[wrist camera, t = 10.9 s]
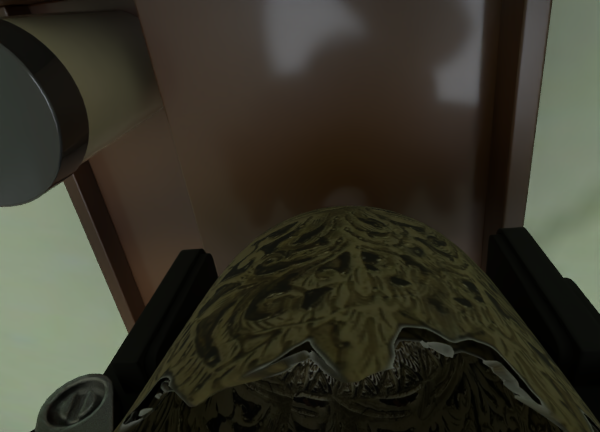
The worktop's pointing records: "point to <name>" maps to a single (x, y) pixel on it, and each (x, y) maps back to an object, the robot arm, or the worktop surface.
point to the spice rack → (312, 125)
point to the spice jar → (68, 94)
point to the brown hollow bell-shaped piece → (356, 341)
